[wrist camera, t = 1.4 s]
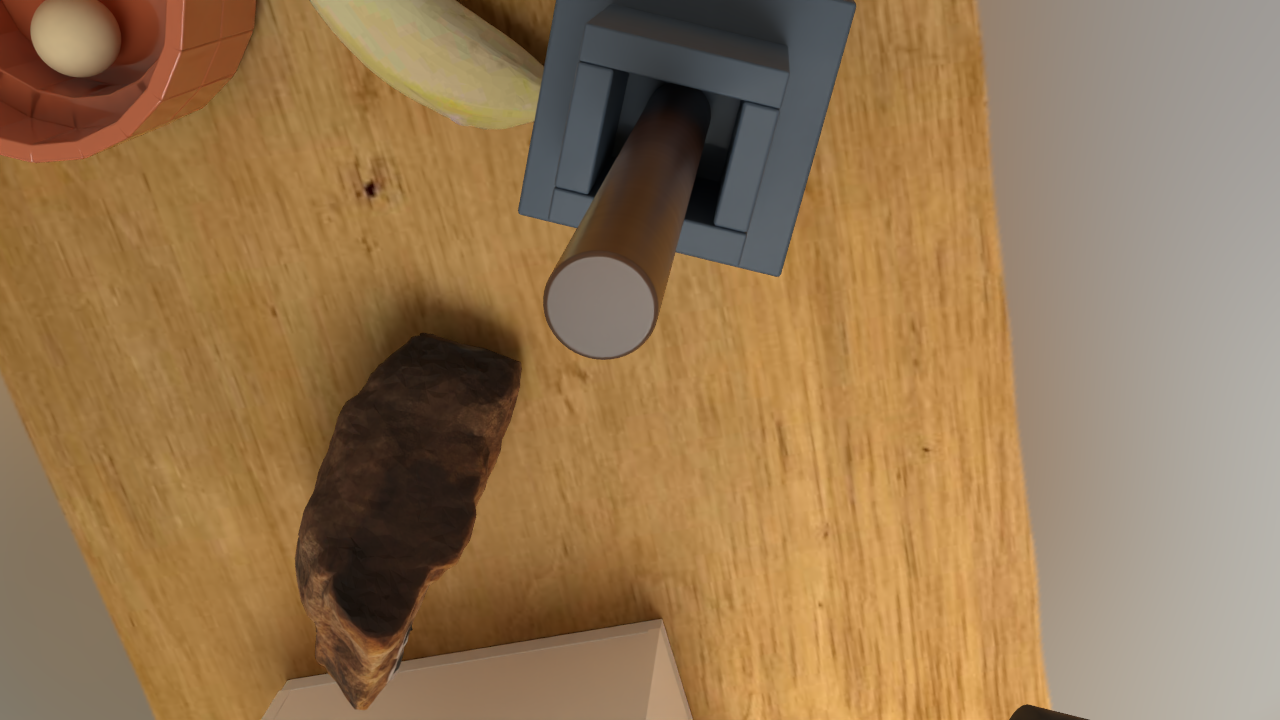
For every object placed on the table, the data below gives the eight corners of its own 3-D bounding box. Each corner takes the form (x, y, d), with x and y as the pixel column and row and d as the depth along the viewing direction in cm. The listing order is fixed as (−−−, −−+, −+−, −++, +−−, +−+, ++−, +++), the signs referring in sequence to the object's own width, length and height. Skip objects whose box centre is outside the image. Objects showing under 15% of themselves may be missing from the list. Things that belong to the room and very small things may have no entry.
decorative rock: (440, 590, 50) (357, 769, 40) (309, 528, 49) (192, 694, 39) (556, 361, 45) (494, 499, 35) (413, 290, 44) (309, 410, 35)
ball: (60, -20, 41) (12, -13, 38) (138, -1, 41) (95, 7, 38) (59, 60, 42) (12, 72, 39) (135, 78, 42) (93, 92, 39)
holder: (627, -84, 39) (535, -57, 24) (834, -34, 38) (869, 23, 24) (586, 123, 41) (480, 261, 27) (779, 170, 41) (780, 334, 26)
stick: (653, 74, 29) (554, 239, 16) (717, 89, 28) (669, 267, 16) (640, 138, 29) (533, 346, 16) (702, 153, 29) (644, 373, 16)
